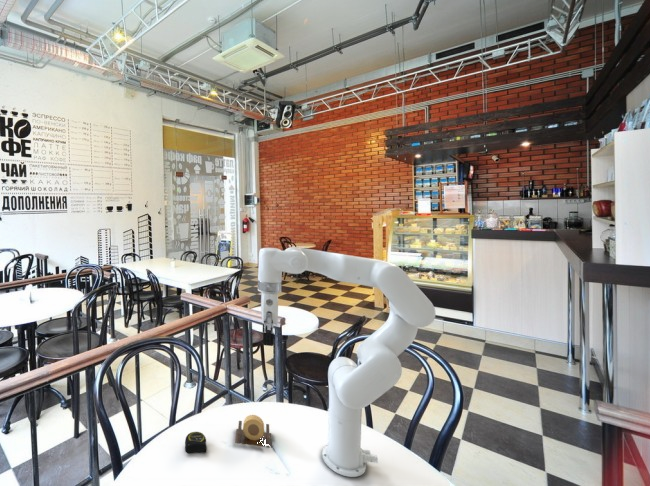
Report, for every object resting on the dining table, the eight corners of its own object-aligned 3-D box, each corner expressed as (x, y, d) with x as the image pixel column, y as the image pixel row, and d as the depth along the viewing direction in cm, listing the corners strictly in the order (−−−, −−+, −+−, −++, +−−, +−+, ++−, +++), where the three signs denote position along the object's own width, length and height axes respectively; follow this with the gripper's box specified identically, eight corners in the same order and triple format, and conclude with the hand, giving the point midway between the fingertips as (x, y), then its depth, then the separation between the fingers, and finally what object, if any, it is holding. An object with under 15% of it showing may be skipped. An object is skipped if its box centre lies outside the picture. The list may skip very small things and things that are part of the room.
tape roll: (263, 436, 111) (264, 415, 111) (264, 441, 109) (264, 420, 109) (243, 434, 112) (243, 413, 112) (242, 439, 110) (243, 418, 110)
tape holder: (271, 435, 113) (271, 424, 113) (271, 450, 106) (272, 438, 106) (236, 431, 115) (236, 420, 115) (234, 445, 108) (235, 433, 108)
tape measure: (184, 457, 102) (184, 445, 102) (185, 441, 109) (185, 430, 109) (206, 457, 103) (206, 445, 103) (206, 441, 109) (206, 430, 109)
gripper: (283, 293, 97) (281, 351, 97) (279, 281, 114) (277, 330, 114) (257, 292, 98) (255, 349, 98) (257, 279, 115) (256, 328, 115)
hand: (267, 339), depth 106 cm, fingers open, 9 cm apart
